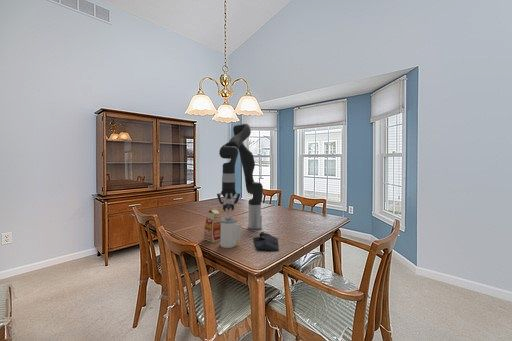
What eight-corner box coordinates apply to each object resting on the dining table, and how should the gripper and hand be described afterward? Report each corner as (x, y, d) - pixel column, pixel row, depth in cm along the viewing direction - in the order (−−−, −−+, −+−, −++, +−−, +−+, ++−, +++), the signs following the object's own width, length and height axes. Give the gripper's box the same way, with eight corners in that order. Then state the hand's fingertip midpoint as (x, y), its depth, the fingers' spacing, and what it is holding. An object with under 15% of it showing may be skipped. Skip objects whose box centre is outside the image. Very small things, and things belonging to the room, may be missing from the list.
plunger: (231, 229, 141) (231, 202, 140) (231, 231, 138) (232, 203, 137) (224, 229, 140) (225, 202, 139) (225, 231, 137) (225, 203, 136)
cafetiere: (239, 241, 146) (239, 217, 145) (242, 246, 137) (242, 221, 136) (219, 242, 143) (219, 217, 142) (221, 248, 134) (221, 222, 133)
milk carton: (213, 242, 143) (213, 209, 142) (202, 239, 148) (202, 207, 147) (223, 238, 151) (223, 206, 149) (212, 235, 155) (212, 205, 154)
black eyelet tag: (252, 251, 131) (252, 243, 131) (253, 238, 153) (253, 231, 153) (280, 252, 131) (280, 244, 130) (277, 238, 153) (277, 231, 152)
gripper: (239, 180, 143) (239, 209, 144) (215, 180, 139) (215, 209, 140) (241, 181, 135) (241, 211, 136) (216, 182, 132) (216, 212, 133)
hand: (228, 210), depth 138 cm, fingers closed on plunger, 3 cm apart
